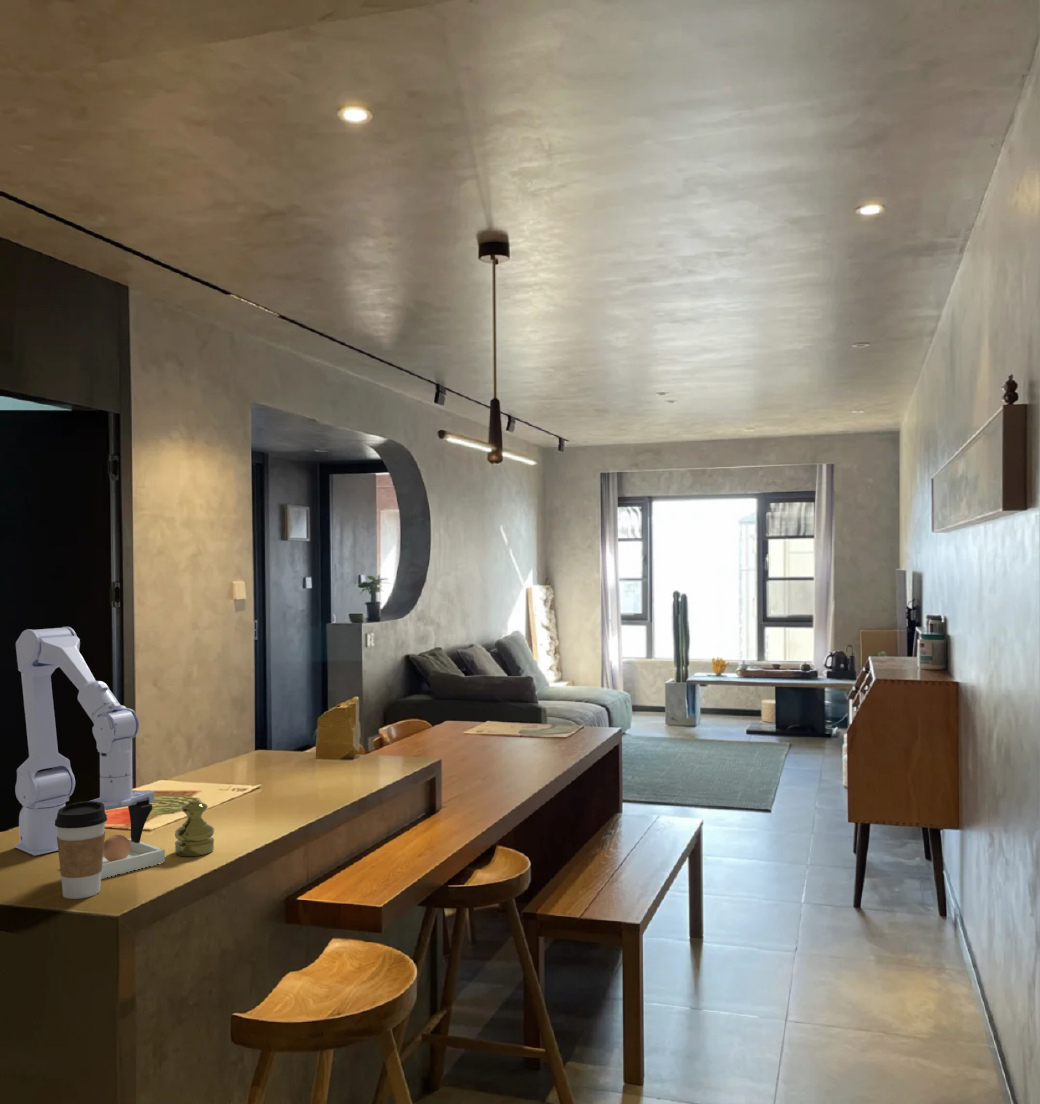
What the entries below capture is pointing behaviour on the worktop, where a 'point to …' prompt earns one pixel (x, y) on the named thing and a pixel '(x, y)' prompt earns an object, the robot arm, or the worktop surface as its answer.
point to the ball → (116, 848)
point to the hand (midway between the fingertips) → (116, 846)
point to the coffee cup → (81, 847)
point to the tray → (133, 859)
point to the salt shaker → (194, 832)
